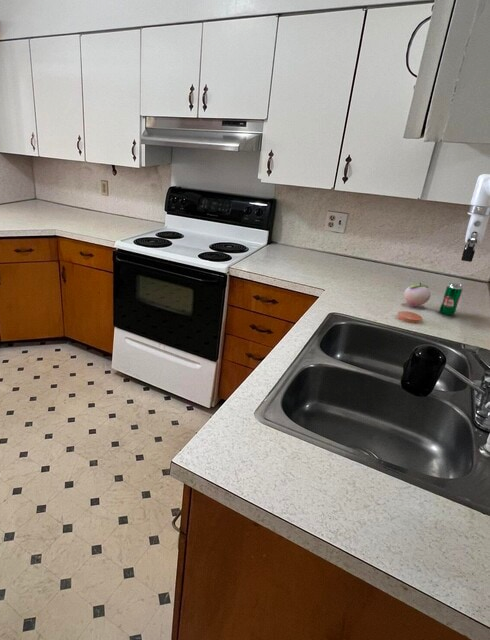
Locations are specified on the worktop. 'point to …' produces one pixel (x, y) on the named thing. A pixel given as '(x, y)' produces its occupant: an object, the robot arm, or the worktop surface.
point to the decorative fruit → (417, 294)
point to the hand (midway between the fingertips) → (466, 258)
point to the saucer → (409, 317)
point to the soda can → (451, 299)
